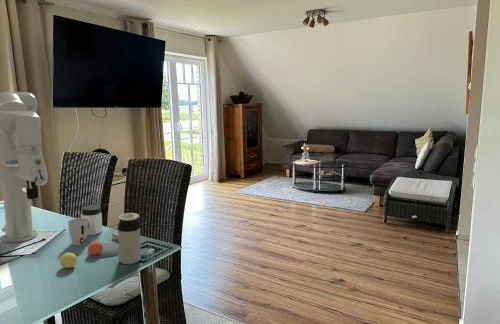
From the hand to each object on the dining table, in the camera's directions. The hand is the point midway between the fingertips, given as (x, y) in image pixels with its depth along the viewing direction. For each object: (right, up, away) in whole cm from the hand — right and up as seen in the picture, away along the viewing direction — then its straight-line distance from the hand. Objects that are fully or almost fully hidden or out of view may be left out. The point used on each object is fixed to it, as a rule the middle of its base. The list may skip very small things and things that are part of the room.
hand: (32, 198), depth 126 cm
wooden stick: (+26, -22, +24) cm, 41 cm away
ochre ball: (+13, -23, 0) cm, 26 cm away
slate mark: (+21, -23, +15) cm, 35 cm away
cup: (+7, -22, +21) cm, 31 cm away
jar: (+6, -20, +34) cm, 39 cm away
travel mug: (+33, -25, +8) cm, 42 cm away
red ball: (+18, -21, +11) cm, 30 cm away
